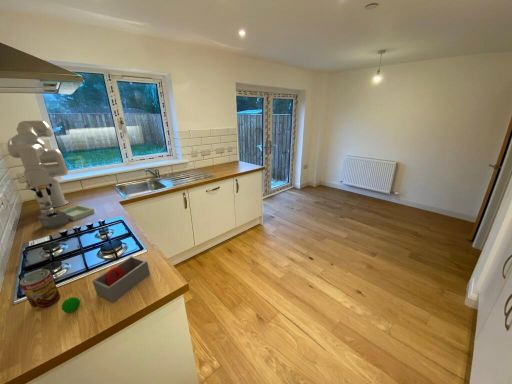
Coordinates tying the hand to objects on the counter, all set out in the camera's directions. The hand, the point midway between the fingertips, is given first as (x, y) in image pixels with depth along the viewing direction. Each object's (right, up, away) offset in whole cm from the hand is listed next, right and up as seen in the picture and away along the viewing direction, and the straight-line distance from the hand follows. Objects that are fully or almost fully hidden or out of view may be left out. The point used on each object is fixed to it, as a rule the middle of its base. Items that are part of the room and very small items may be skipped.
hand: (44, 195), depth 132 cm
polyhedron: (+64, -41, -54) cm, 93 cm away
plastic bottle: (-17, -14, +20) cm, 30 cm away
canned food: (+51, -39, -51) cm, 82 cm away
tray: (+3, -13, +21) cm, 25 cm away
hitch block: (+1, -19, +7) cm, 20 cm away
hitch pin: (0, -6, +2) cm, 6 cm away
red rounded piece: (+75, -36, -41) cm, 93 cm away
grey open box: (+76, -36, -43) cm, 94 cm away
